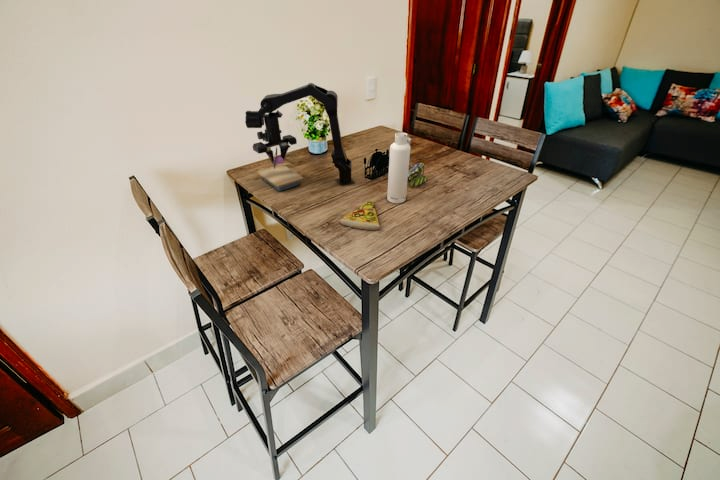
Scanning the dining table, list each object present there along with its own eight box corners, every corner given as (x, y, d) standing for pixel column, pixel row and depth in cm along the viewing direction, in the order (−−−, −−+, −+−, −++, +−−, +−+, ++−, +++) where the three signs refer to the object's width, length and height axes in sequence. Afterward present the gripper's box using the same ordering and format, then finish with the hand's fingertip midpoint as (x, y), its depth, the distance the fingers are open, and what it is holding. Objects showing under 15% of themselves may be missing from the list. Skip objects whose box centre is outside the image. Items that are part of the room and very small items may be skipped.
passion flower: (407, 190, 163) (407, 165, 163) (429, 189, 159) (430, 164, 159) (402, 186, 152) (402, 160, 152) (426, 185, 149) (426, 158, 149)
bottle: (383, 195, 147) (387, 132, 131) (400, 192, 150) (405, 129, 133) (391, 204, 141) (396, 139, 125) (409, 201, 143) (415, 136, 127)
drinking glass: (411, 158, 181) (413, 140, 175) (400, 160, 179) (401, 141, 173) (405, 153, 186) (407, 136, 180) (394, 155, 184) (396, 137, 178)
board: (303, 179, 153) (303, 177, 153) (278, 187, 147) (277, 185, 146) (281, 165, 166) (281, 163, 165) (257, 172, 159) (256, 170, 158)
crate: (298, 184, 156) (298, 178, 154) (279, 191, 150) (278, 185, 149) (281, 173, 165) (280, 167, 164) (263, 179, 160) (262, 173, 158)
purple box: (274, 146, 152) (274, 154, 145) (286, 149, 154) (286, 156, 147) (272, 160, 156) (272, 168, 149) (284, 162, 158) (284, 170, 150)
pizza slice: (338, 226, 128) (338, 219, 126) (354, 200, 144) (354, 194, 142) (378, 232, 124) (378, 225, 123) (389, 205, 141) (390, 199, 139)
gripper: (282, 119, 153) (286, 152, 162) (243, 127, 143) (250, 162, 152) (295, 124, 146) (299, 159, 155) (255, 134, 136) (262, 170, 145)
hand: (278, 162), depth 152 cm, fingers closed on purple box, 4 cm apart
